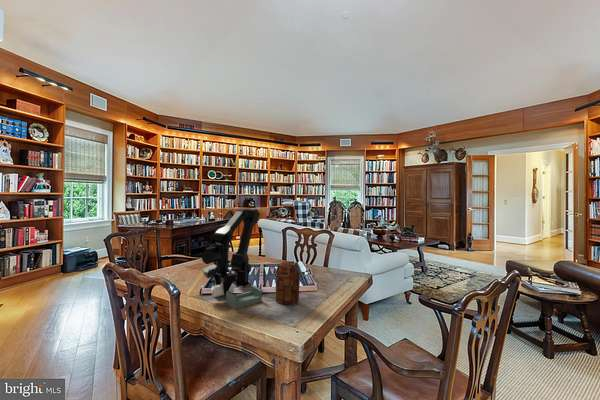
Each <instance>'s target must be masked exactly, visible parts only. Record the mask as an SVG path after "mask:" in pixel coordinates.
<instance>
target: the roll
mask: <svg viewBox="0 0 600 400" xmlns="http://www.w3.org/2000/svg"><path fill="white" fill-rule="evenodd" d="M228 291H230V292H231V293H232V294H234V292H235V285H234V283H232V285H231V286H230V288H229V290H228ZM210 293H211V296H212V297H213V298H218V297H222V296H226V294H224V290H223V284H222V283H221V284H220V285H216V284H215V285H212V286H211V292H210Z"/></svg>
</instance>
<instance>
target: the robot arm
mask: <svg viewBox="0 0 600 400" xmlns="http://www.w3.org/2000/svg"><path fill="white" fill-rule="evenodd" d="M260 216H261V214H260V211H259V209H257V208H256V209H255V208H237V209H236V211H235V213H234V215H233V216H232V217H231V218H230V219H229V220H228V221H227V223H226V224H225V225H224V226H223V227H220V228H218V229H217V230H216V231H215V232H214V233H213V236H212V238H211V241H210V242H209V245H208V247H205V250H204V251H203V252H202V254H201V260H202V262H203V263H204V265H208V266H206V267H205V268H203V269H202V272H203V274H204V275H203V276H204V278H206V279H211V278H213V281H214V283H215V286H216V285H220V284H223V290H224V294H226V291H228V290H229V288H230V286H231V285H232V283H233V284H235V285H236V284H237V285H236V286H239V285H241V286H244V284H245V285H248V283H249V284H250V283H251V282H250V281H249V274H250V273H251V272H252V266H251V264H250V263H249V260H250V259H249V256H248V250H249V247H250V242H251V238H252V233H253V229H254V227H255V225H256V224H257V223H258V222H259V218H260ZM242 222H243V227H242V232H241V235H240V240H239V244H238V248H237V251H236V252H235V253H233V254H232V255H231V259H230V260H229V249H230V248H232V245H231V244H230V243H231V241H232V240H233V237H234V232H235V231H236V229H237V228H238V227H239V226H240V224H241V223H242ZM209 264H211V265H209ZM229 264H230V267H231V269H230V268H229ZM231 270H232V271H231ZM239 287H240V286H239Z"/></svg>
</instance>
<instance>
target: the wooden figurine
mask: <svg viewBox="0 0 600 400" xmlns="http://www.w3.org/2000/svg"><path fill="white" fill-rule="evenodd" d="M300 276H301V275H300V271H299V269H298V268H297V266H296V265H295V264H294V262H291V261H288V260H287V261H285V260H284V261H281V262H280V263H279V264H278V265H277V267H276V271H275V302H276V303H277V304H279V305H285V306H286V305H287V306H292V305H293V306H297V305H298V304H299V302H300V282H301V277H300Z"/></svg>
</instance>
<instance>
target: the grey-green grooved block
mask: <svg viewBox="0 0 600 400" xmlns="http://www.w3.org/2000/svg"><path fill="white" fill-rule="evenodd" d="M262 294H263V291H262V289H260V288H259V287H257V286H255V285H253V284H250V291H247V292H242V293H239V294H234V293H231V292H230V291H226V295H225V303H226V304H227V305H228V306H230V307H231V308H233V309H234V310H236V309H239V308H243V307H246V306H250V305H253V304H257V303H261V302H262V296H263V295H262Z"/></svg>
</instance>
